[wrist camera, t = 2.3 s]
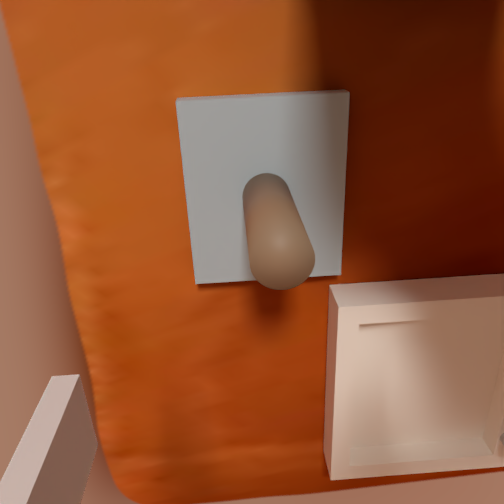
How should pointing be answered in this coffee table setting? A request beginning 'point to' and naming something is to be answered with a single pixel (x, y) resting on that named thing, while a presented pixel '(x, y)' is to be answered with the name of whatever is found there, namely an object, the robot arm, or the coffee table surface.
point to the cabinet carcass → (415, 376)
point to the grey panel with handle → (265, 185)
